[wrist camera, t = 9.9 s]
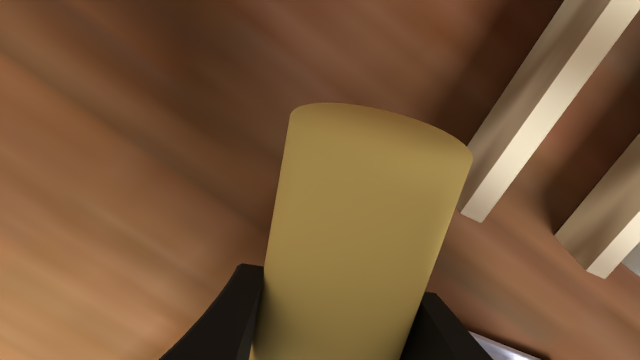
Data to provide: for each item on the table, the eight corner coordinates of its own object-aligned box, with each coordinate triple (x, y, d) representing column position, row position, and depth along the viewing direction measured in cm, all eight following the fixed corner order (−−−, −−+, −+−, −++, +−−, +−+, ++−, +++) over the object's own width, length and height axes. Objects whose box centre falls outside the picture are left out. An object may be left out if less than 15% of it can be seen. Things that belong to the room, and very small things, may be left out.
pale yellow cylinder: (351, 380, 16) (376, 500, 12) (239, 375, 15) (232, 503, 12) (433, 117, 12) (509, 184, 8) (285, 93, 11) (296, 155, 7)
